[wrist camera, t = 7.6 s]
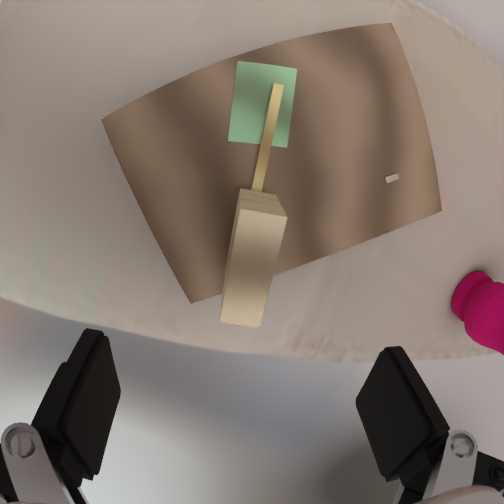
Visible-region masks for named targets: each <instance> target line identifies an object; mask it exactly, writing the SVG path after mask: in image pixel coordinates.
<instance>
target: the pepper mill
mask: <svg viewBox="0 0 504 504" xmlns="http://www.w3.org/2000/svg"><path fill="white" fill-rule="evenodd" d="M452 310H453V312H454V313H455V314H456V316H457V317H458V318H459V319H460V320H461V321H463V322H464V325H465V330H466V333H467V334H468V335H469V336H470V337H471V338H472V339H473V340H474V341H475V342H477V343H479V344H480V345H482V346H485V347H488V348H491V349H494V350H496V351H498V352H500V353H501V354H503V355H504V284H503V283H500V282H493V280H492V279H491V278H490V277H489V276H487V275H486V274H485V273H484V272H481V271H475V272H473V273H470V274H469V275H468V276H466V277H465V278H464V279H463V280H462V281H461V283H460V284H459V285H458V287H457V289H456V291H455V293H454V295H453V298H452Z"/></svg>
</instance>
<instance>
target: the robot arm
mask: <svg viewBox="0 0 504 504" xmlns="http://www.w3.org/2000/svg"><path fill="white" fill-rule="evenodd" d="M120 393H121V390H120V385H119V381H118V377H117V373H116V369H115V365H114V361H113V356H112V352H111V348H110V343H109V339H108V337H107V336H104V333H103V332H102V331H99V330H93V329H88V328H87V329H85V330H84V331H83V333H82V335H81V337H80V338H79V340H78V342H77V344H76V346H75V347H74V349H73V351H72V353H71V355H70V357H69V359H68V360H67V362H63V363H62V364H61V365H60V367H59V368H58V370H57V372H56V374H55V376H54V378H53V380H52V382H51V384H50V386H49V388H48V390H47V392H46V394H45V396H44V398H43V400H42V402H41V404H40V406H39V408H38V410H37V413H36V415H35V417H34V419H33V421H32V424H31V425H29V424H27V423H14V424H12V425H10V426H8V427H7V428H6V429H5V430H4V432H3V434H2V437H1V443H0V504H89V503H88V501H87V499H86V497H85V496H84V494H83V492H82V490H81V488H80V486H81V483H82V479H83V478H85V479H88V480H93V476H94V475H97V474H99V471H100V467H101V463H102V459H103V455H104V451H105V447H106V444H107V440H108V436H109V433H110V429H111V425H112V422H113V418H114V415H115V412H116V408H117V405H118V402H119V398H120ZM356 407H357V410H358V412H359V415H360V418H361V421H362V423H363V426H364V429H365V432H366V434H367V437H368V440H369V443H370V445H371V448H372V451H373V454H374V457H375V459H376V462H377V465H378V468H379V471H380V473H381V475H382V476H384V477H385V479H386V482H390V481H393V480H397V479H399V478H400V480H401V486H400V489H399V491H398V493H397V495H396V497H395V500H394V502H393V504H504V462H503V461H502V460H499V459H496V458H494V457H492V456H489V455H486V454H484V453H482V452H479V451H478V449H477V448H478V447H477V442H476V440H475V438H474V437H473V436H472V435H471V434H470V433H469V432H467V431H464V430H455V431H453V432H451V434H450V435H449V433H448V431H449V429H450V427H449V426H448V424H447V422H446V420H445V418H444V417H443V415H442V413H441V411H440V410H439V408H438V406H437V404H436V403H435V401H434V399H433V397H432V395H431V394H430V392H429V390H428V389H427V387H426V385H425V383H424V382H423V380H422V379H421V377H420V375H419V374H418V372H417V370H416V369H415V367H414V366H413V364H412V362H411V361H410V359H409V357H408V356H407V354H406V353H405V351H404V349H403V348H402V347H400V346H395V347H386V348H385V349H384V350H383V351H381V352H380V354H379V356H378V358H377V360H376V362H375V364H374V366H373V368H372V370H371V372H370V374H369V376H368V378H367V379H366V381H365V383H364V385H363V387H362V389H361V390H360V392H359V394H358V396H357V398H356Z"/></svg>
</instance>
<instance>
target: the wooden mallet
mask: <svg viewBox="0 0 504 504" xmlns="http://www.w3.org/2000/svg"><path fill="white" fill-rule="evenodd" d="M283 89H284V85H281V84H276V83H274V84H273V87H272V92H271V97H270V101H269V106H268V111H267V115H266V120H265V125H264V130H263V134H262V139H261V144H260V149H259V154H258V158H257V163H256V168H255V173H254V178H253V183H252V188H251V190H247V189H241V188H240V192H239V197H238V203H237V208H236V213H235V219H234V224H233V229H232V235H231V240H230V246H229V251H228V257H227V262H226V268H225V274H224V279H223V289H222V300H221V312H220V322H222V323H229V324H236V325H243V326H251V327H258V328H259V326H260V323H261V319H262V315H263V311H264V308H265V304H266V300H267V296H268V292H269V289H270V285H271V281H272V277H273V273H274V269H275V265H276V261H277V258H278V254H279V250H280V246H281V242H282V238H283V234H284V230H285V225H286V221H287V215H286V213H285V212H284V210H283V208H282V206H281V204H280V202H279V200H278V198H277V196H276V195H274V194H268V193H263V192H262V187H263V182H264V177H265V173H266V168H267V163H268V159H269V154H270V149H271V145H272V140H273V135H274V130H275V126H276V121H277V116H278V112H279V107H280V102H281V98H282V93H283Z"/></svg>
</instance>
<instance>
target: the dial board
mask: <svg viewBox="0 0 504 504" xmlns="http://www.w3.org/2000/svg"><path fill="white" fill-rule="evenodd" d="M274 83H276V84H281V85H284V89H283V93H282V98H281V102H280V107H279V112H278V116H277V121H276V126H275V130H274V135H273V140H272V145H271V149H270V154H269V159H268V163H267V168H266V173H265V177H264V182H263V187H262V192H263V193H268V194H274V195H276V196H277V198H278V200H279V202H280V204H281V206H282V208H283V210H284V212H285V213H286V215H287V221H286V225H285V230H284V234H283V238H282V242H281V246H280V250H279V254H278V258H277V261H276V265H275V269H274V273H273V275H275V274H278V273H281V272H284V271H286V270H289V269H292V268H295V267H297V266H300V265H303V264H306V263H308V262H311V261H314V260H317V259H319V258H322V257H325V256H327V255H330V254H333V253H335V252H338V251H341V250H343V249H346V248H349V247H351V246H354V245H357V244H359V243H362V242H364V241H367V240H370V239H372V238H375V237H377V236H380V235H383V234H385V233H388V232H390V231H393V230H395V229H398V228H400V227H403V226H405V225H408V224H410V223H413V222H415V221H418V220H420V219H423V218H425V217H428V216H430V215H433V214H435V213H438V212H440V211H442V208H441V200H440V192H439V185H438V179H437V173H436V167H435V162H434V156H433V151H432V147H431V142H430V137H429V133H428V129H427V125H426V121H425V117H424V113H423V109H422V106H421V102H420V99H419V95H418V92H417V89H416V86H415V83H414V79H413V76H412V73H411V71H410V68H409V65H408V62H407V59H406V57H405V54H404V51H403V49H402V46H401V44H400V41H399V39H398V36H397V34H396V32H395V29H394V27H393V25H392V23H385V24H375V25H366V26H359V27H352V28H345V29H339V30H334V31H328V32H323V33H318V34H313V35H309V36H304V37H300V38H296V39H292V40H288V41H284V42H280V43H277V44H273V45H270V46H266V47H263V48H260V49H256V50H253V51H250V52H247V53H244V54H241V55H238V56H235V57H232V58H229V59H227V60H224V61H221V62H219V63H216V64H213V65H211V66H208V67H206V68H203V69H201V70H198V71H196V72H194V73H191V74H189V75H187V76H184V77H182V78H180V79H178V80H175V81H173V82H171V83H169V84H167V85H165V86H163V87H160V88H158V89H156V90H154V91H152V92H150V93H148V94H146V95H145V96H143V97H141V98H139V99H137V100H135V101H133V102H131V103H130V104H128V105H126V106H124V107H122V108H121V109H119V110H117V111H115V112H114V113H112V114H110V115H109V116H107V117H105V118H104V119H102V123H103V125H104V127H105V130H106V132H107V135H108V137H109V140H110V142H111V144H112V147H113V149H114V151H115V154H116V156H117V158H118V161H119V163H120V165H121V167H122V170H123V172H124V174H125V176H126V178H127V181H128V183H129V185H130V187H131V189H132V191H133V194H134V196H135V198H136V200H137V202H138V204H139V206H140V208H141V210H142V212H143V214H144V216H145V218H146V220H147V222H148V224H149V226H150V228H151V230H152V232H153V234H154V236H155V238H156V240H157V242H158V244H159V246H160V248H161V250H162V252H163V254H164V256H165V258H166V259H167V261H168V263H169V265H170V267H171V269H172V271H173V272H174V274H175V276H176V278H177V280H178V282H179V283H180V285H181V287H182V289H183V291H184V292H185V294H186V296H187V298H188V299H189V301H190V303H194V302H197V301H200V300H203V299H206V298H209V297H212V296H215V295H218V294H221V293H222V289H223V279H224V274H225V268H226V262H227V257H228V251H229V246H230V240H231V235H232V229H233V224H234V219H235V213H236V208H237V203H238V197H239V192H240V188H241V189H247V190H251V188H252V183H253V178H254V173H255V168H256V163H257V158H258V154H259V149H260V144H261V139H262V134H263V130H264V125H265V120H266V115H267V111H268V106H269V101H270V97H271V92H272V87H273V84H274Z"/></svg>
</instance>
